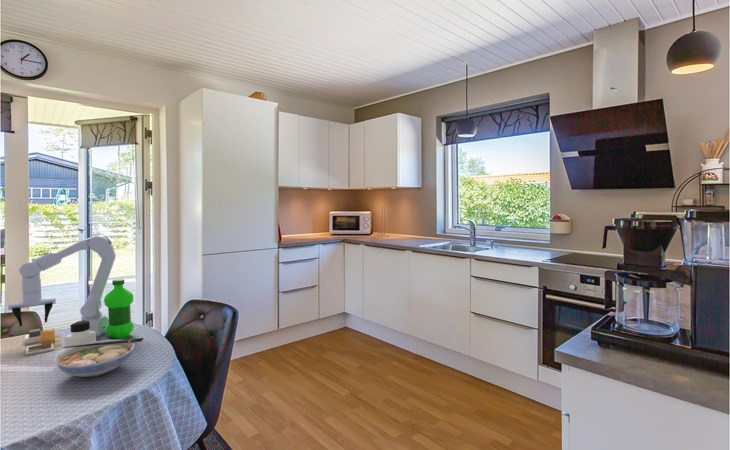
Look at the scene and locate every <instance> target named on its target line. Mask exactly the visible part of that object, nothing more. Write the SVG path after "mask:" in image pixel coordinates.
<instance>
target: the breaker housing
mask: <svg viewBox="0 0 730 450" xmlns="http://www.w3.org/2000/svg"><path fill="white" fill-rule="evenodd" d="M39 341H41V336H37V337H31V338H30V336H29V334H26V335H25V337H24V343H25V344H28V343H34V342H39Z"/></svg>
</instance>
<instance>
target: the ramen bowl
mask: <svg viewBox="0 0 730 450" xmlns="http://www.w3.org/2000/svg"><path fill="white" fill-rule="evenodd" d="M143 340H144V337H139V338H138V337H136V338H131V339H128V338H127V339H105V340H98V341H97V340H96V342H91V343H87V344H83V345H76V346H68V347H65V346H63V349H64V351H62V352H60V353H58V354H56V355H55V357H54V358H53V362H54V363H55V365H56V366H57V368H58V369H59V370H60V371H61V372H63V373H65V374H66V375H69V376H74V377H80V378H81V377H82V378H84V377H85V378H95V377H100V376H102V375H105V374H107V373H108V372H111V371H113V370H115V369H116V368H118V367H119V366H121V365H122V364H124V363H125V362H126V361H127V360H128V359H129V357H130V356H131V354H132V352H133V351H134V348H135V343H141V342H143ZM70 347H73V348H70ZM65 348H70V349H68V350H65Z"/></svg>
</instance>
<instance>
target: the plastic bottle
mask: <svg viewBox="0 0 730 450" xmlns="http://www.w3.org/2000/svg"><path fill="white" fill-rule="evenodd" d="M111 284H112V286H113V288H112V290H110V291H109V292H108V293H107V294H106V295H105V296H104V300H103V302H104V305H105V306H106V307H107V311H108V312H107V313H108V319H109V325H108V327H107V329H106V331H107V332H106V334H107V335H108V336H109V337H110V338H112V340H124V339H125V338H128V337H129V335H130V334H131V333H132V332H133V331H134V324H133V322H132V316H131V305H132V304H133V302H134V294H133V292H131V291H130V290H128V289H126V288H124V284H125V279H124V278H118V279H113V280H112V283H111Z"/></svg>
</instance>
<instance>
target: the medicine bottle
mask: <svg viewBox="0 0 730 450" xmlns="http://www.w3.org/2000/svg"><path fill="white" fill-rule="evenodd" d="M69 327H70V329H69V330H70V334H68V335H66V336H64V347H68V346H76V345H83V344H87V343H91V342H97V336H96V331H90V322H89V321H87V320H80V319H79V320H76V321H73V322H72V323H70V325H69ZM70 348H73V347H70ZM70 348H64V351H65V350H68V349H70Z"/></svg>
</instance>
